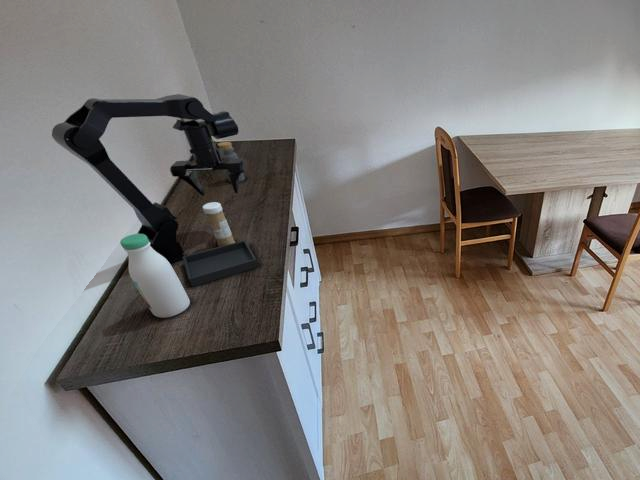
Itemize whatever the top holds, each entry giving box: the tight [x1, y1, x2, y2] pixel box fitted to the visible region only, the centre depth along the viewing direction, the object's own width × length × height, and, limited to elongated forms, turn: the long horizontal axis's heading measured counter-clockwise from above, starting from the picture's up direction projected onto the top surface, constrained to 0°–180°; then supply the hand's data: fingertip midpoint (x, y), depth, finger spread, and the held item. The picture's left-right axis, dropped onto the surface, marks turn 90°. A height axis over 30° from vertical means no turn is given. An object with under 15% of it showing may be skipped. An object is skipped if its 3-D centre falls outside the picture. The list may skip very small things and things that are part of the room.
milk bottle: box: [119, 233, 191, 319], centre depth 89 cm, size 8×8×20 cm
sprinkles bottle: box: [202, 201, 236, 247], centre depth 115 cm, size 5×5×14 cm
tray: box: [182, 239, 259, 287], centre depth 109 cm, size 16×13×2 cm
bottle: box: [217, 141, 246, 183], centre depth 154 cm, size 6×6×15 cm
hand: (220, 194), depth 118 cm, fingers open, 9 cm apart
